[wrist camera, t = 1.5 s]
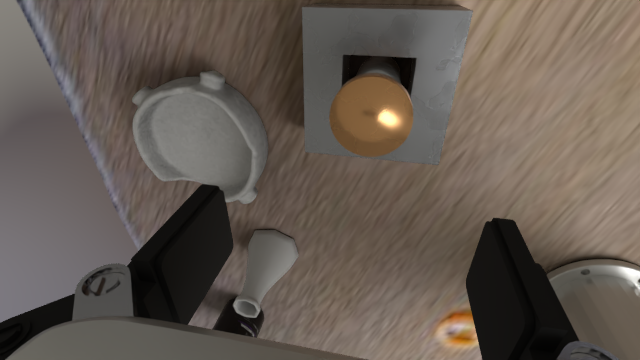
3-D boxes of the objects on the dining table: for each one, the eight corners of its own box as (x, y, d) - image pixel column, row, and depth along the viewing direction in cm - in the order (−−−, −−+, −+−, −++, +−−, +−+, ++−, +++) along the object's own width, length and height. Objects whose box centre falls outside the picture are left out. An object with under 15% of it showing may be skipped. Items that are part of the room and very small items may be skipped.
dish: (279, 187, 40) (265, 211, 36) (177, 179, 42) (153, 201, 38) (263, 63, 32) (243, 76, 28) (141, 64, 35) (106, 75, 31)
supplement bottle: (269, 306, 52) (238, 383, 42) (260, 328, 56) (230, 404, 46) (229, 290, 52) (188, 364, 42) (223, 314, 56) (185, 387, 46)
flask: (249, 222, 44) (214, 279, 35) (301, 234, 43) (278, 296, 34) (249, 260, 48) (217, 320, 39) (297, 272, 47) (275, 335, 38)
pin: (412, 47, 29) (420, 80, 19) (404, 107, 31) (406, 160, 22) (351, 45, 30) (330, 74, 20) (348, 103, 32) (328, 152, 23)
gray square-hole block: (461, 5, 26) (472, 10, 22) (433, 141, 33) (438, 165, 28) (316, 3, 28) (301, 7, 24) (316, 131, 35) (305, 152, 30)
